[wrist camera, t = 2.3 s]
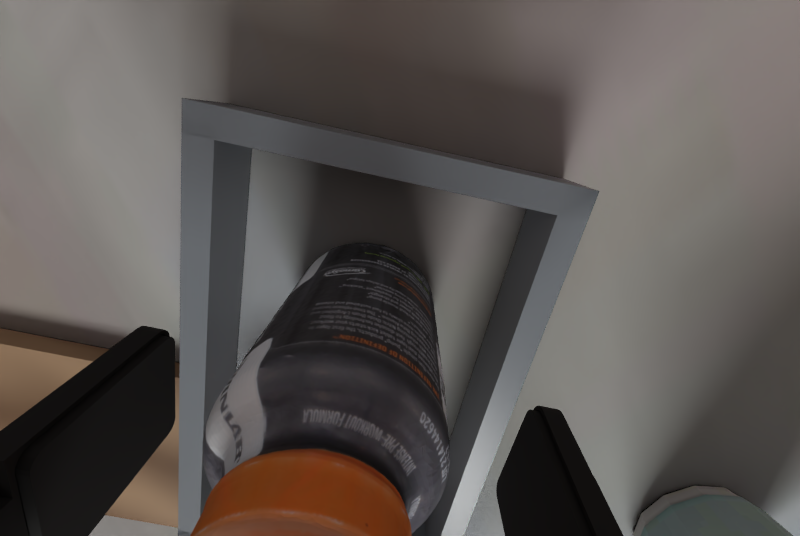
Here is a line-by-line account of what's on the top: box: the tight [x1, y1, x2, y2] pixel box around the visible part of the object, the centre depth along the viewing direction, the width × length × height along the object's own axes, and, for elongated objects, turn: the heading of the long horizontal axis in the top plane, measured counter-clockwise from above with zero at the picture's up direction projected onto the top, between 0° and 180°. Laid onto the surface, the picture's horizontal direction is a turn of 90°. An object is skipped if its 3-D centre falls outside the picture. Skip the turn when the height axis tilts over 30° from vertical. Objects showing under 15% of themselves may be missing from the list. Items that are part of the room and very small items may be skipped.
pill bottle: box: [190, 243, 450, 536], centre depth 12 cm, size 6×6×11 cm
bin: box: [178, 98, 599, 536], centre depth 17 cm, size 20×13×3 cm, turn 168°
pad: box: [0, 328, 180, 528], centre depth 19 cm, size 10×10×1 cm
